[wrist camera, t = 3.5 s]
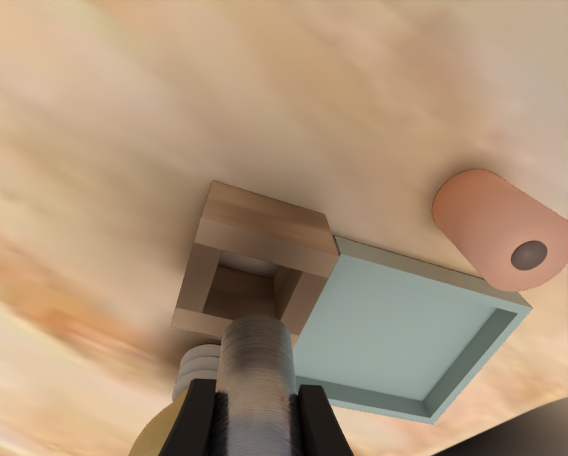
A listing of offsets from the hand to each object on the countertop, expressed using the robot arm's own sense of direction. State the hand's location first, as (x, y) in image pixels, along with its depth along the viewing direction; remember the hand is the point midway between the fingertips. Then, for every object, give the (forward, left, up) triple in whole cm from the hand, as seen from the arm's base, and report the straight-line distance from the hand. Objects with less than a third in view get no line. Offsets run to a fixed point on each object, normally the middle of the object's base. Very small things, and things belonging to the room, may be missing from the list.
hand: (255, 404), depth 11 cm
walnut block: (0, +1, -10) cm, 10 cm away
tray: (-10, +4, -10) cm, 15 cm away
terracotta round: (-10, -5, -10) cm, 15 cm away
